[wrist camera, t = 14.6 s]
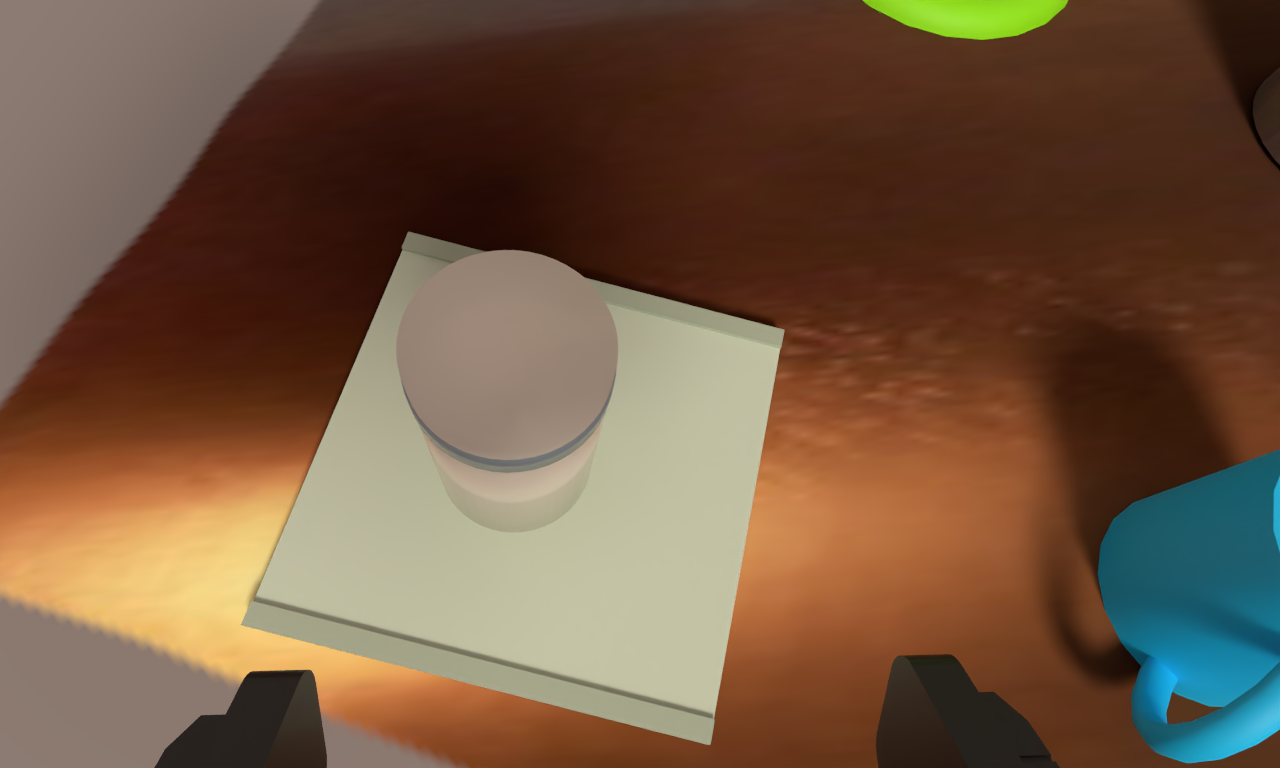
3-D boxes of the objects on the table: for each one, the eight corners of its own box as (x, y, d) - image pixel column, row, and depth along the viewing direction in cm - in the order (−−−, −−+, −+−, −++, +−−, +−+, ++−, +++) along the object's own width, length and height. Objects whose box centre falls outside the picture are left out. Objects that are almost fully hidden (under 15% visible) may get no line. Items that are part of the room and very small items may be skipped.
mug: (1162, 455, 33) (1341, 379, 26) (1331, 601, 31) (1575, 565, 24) (1002, 662, 29) (1159, 644, 22) (1186, 843, 27) (1427, 891, 20)
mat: (779, 338, 33) (784, 329, 33) (705, 744, 27) (710, 745, 26) (411, 242, 33) (408, 231, 32) (249, 627, 27) (241, 624, 26)
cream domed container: (593, 388, 31) (619, 254, 22) (592, 534, 29) (620, 453, 19) (443, 384, 30) (405, 242, 21) (431, 532, 28) (382, 448, 19)
